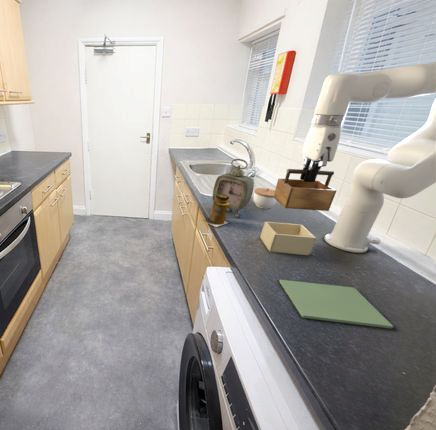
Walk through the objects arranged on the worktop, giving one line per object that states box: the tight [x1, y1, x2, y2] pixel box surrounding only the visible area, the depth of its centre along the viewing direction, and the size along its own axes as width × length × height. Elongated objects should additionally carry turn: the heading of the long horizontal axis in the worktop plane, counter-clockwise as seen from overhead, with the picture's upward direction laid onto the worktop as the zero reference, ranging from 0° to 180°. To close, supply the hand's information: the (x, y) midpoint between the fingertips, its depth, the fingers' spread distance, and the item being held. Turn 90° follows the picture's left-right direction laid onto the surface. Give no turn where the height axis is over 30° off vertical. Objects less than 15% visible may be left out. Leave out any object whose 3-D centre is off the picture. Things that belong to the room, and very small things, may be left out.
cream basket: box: [259, 221, 317, 256], centre depth 95 cm, size 13×10×7 cm
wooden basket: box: [273, 168, 337, 212], centre depth 87 cm, size 13×10×12 cm
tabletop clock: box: [212, 158, 255, 218], centre depth 118 cm, size 14×9×25 cm, turn 44°
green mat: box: [278, 279, 394, 329], centre depth 70 cm, size 20×14×1 cm
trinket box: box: [252, 187, 278, 210], centre depth 129 cm, size 11×11×9 cm
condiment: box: [202, 194, 229, 228], centre depth 111 cm, size 7×8×12 cm
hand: (307, 180), depth 86 cm, fingers closed on wooden basket, 1 cm apart
